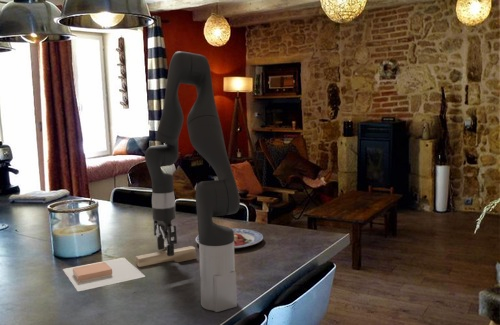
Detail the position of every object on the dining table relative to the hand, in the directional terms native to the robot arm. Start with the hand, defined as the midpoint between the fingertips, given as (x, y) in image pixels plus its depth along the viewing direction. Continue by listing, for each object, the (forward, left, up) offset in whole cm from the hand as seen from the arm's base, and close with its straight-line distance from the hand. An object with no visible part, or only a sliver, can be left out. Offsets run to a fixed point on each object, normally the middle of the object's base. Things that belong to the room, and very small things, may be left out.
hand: (165, 252), depth 159 cm
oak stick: (0, 0, -4) cm, 4 cm away
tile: (0, +19, -1) cm, 19 cm away
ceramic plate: (+8, -29, -4) cm, 30 cm away
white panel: (0, +21, -4) cm, 21 cm away
